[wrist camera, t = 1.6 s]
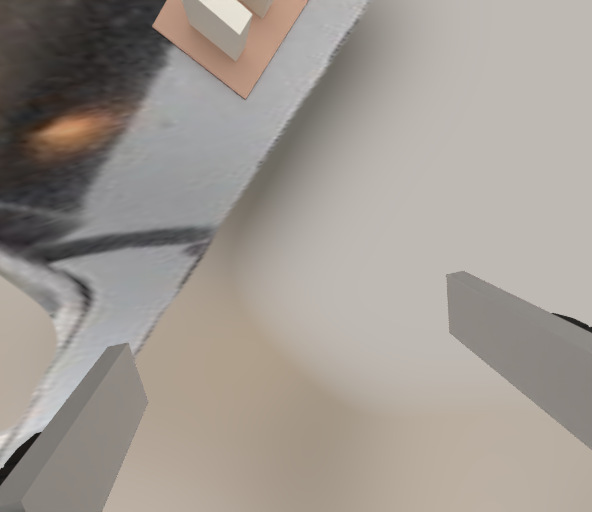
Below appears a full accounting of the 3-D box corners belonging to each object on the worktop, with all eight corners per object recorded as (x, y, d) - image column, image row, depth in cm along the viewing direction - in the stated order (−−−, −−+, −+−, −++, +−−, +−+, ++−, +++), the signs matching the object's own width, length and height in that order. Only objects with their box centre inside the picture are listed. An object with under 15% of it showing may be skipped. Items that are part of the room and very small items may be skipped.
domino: (236, 61, 34) (239, 34, 24) (189, 24, 32) (174, -21, 23) (245, 47, 33) (252, 14, 24) (198, 8, 32) (187, -44, 22)
